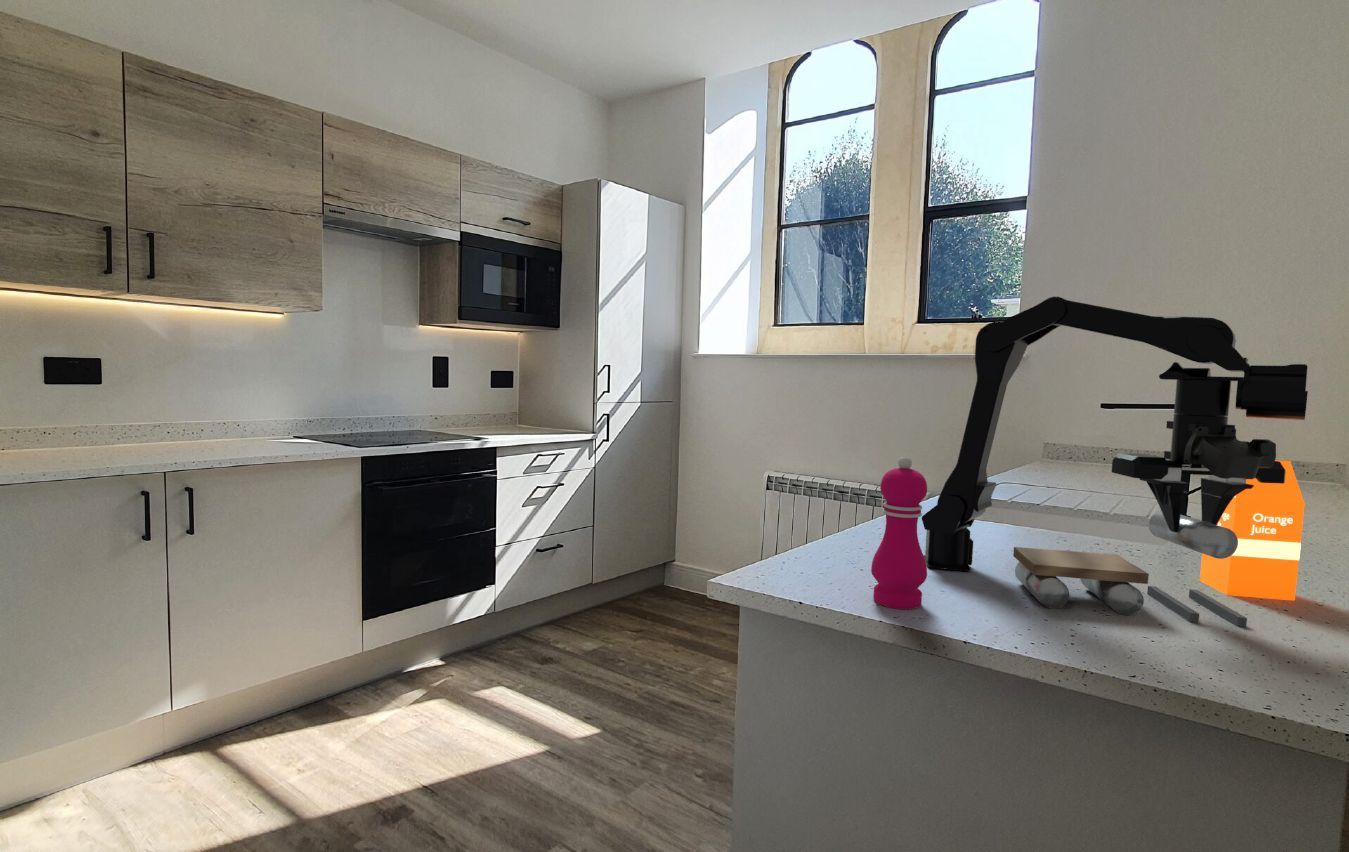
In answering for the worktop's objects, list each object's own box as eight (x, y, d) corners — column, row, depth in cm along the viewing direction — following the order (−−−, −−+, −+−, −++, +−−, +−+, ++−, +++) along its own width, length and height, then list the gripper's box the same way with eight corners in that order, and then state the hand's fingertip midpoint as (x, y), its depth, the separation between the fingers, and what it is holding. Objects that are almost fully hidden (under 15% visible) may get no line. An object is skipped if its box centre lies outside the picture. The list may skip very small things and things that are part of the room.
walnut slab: (1033, 574, 95) (1034, 564, 94) (1013, 556, 104) (1014, 546, 104) (1147, 583, 92) (1148, 573, 92) (1116, 564, 102) (1117, 554, 101)
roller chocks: (1189, 621, 90) (1190, 612, 90) (1147, 593, 102) (1147, 585, 102) (1246, 627, 89) (1247, 617, 89) (1196, 597, 101) (1197, 589, 100)
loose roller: (1147, 537, 98) (1150, 509, 98) (1176, 539, 98) (1179, 511, 98) (1203, 557, 87) (1207, 526, 87) (1235, 560, 87) (1239, 528, 87)
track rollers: (1036, 606, 94) (1038, 578, 94) (1014, 583, 105) (1015, 557, 105) (1142, 616, 92) (1145, 586, 91) (1108, 591, 102) (1110, 564, 102)
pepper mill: (882, 590, 100) (889, 452, 98) (932, 601, 95) (941, 457, 94) (860, 601, 94) (868, 455, 93) (913, 615, 90) (922, 461, 88)
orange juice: (1295, 600, 101) (1309, 464, 99) (1226, 595, 102) (1239, 461, 101) (1262, 585, 108) (1274, 458, 107) (1198, 580, 110) (1209, 455, 109)
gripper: (1166, 416, 84) (1156, 544, 85) (1329, 421, 83) (1316, 550, 84) (1113, 411, 95) (1105, 524, 96) (1256, 416, 94) (1246, 530, 95)
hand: (1190, 532), depth 92 cm, fingers closed on loose roller, 4 cm apart
